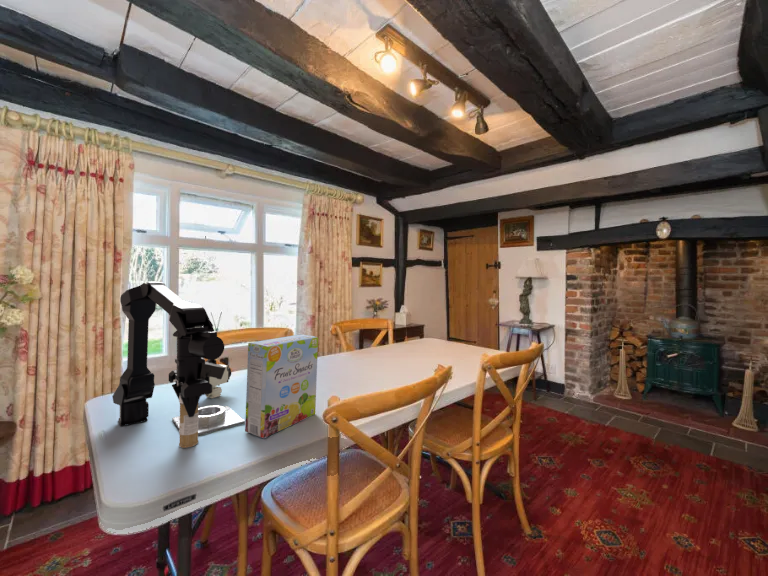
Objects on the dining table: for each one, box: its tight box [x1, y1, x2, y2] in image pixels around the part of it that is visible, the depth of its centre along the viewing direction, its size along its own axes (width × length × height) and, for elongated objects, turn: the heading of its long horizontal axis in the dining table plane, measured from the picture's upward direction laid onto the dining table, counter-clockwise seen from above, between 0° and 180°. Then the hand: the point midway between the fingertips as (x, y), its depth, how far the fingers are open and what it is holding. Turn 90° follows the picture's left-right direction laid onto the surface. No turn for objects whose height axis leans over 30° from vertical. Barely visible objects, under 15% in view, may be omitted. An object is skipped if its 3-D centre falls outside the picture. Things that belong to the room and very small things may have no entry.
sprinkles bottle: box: [178, 396, 200, 449], centre depth 91 cm, size 5×5×13 cm
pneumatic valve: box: [198, 363, 232, 399], centre depth 127 cm, size 6×12×12 cm, turn 152°
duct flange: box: [172, 405, 245, 437], centre depth 105 cm, size 16×16×3 cm
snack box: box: [244, 333, 319, 439], centre depth 105 cm, size 22×9×26 cm, turn 151°
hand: (189, 414), depth 91 cm, fingers closed on sprinkles bottle, 4 cm apart
